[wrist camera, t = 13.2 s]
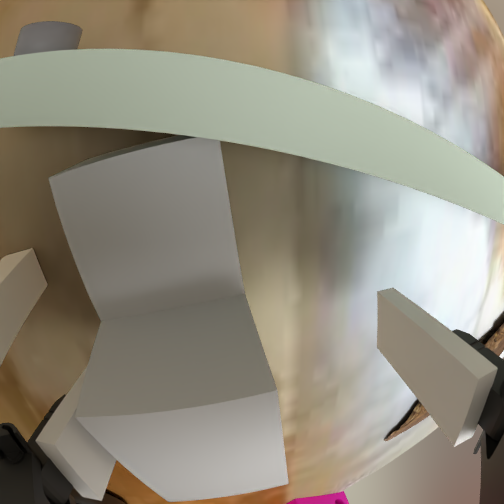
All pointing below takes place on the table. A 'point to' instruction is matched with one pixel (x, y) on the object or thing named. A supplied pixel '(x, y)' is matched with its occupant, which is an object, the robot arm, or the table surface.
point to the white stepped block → (170, 322)
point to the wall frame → (18, 294)
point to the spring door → (232, 112)
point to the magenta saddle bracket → (322, 499)
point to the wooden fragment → (496, 343)
